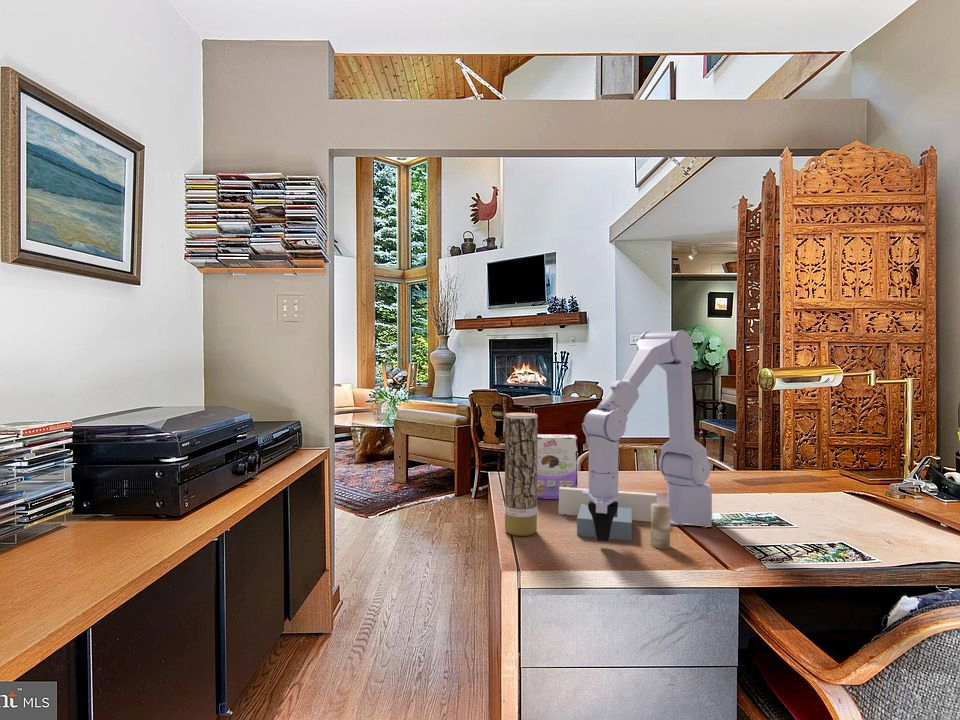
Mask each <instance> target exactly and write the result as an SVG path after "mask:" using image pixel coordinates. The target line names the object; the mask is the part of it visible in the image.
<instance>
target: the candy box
mask: <svg viewBox="0 0 960 720" xmlns="http://www.w3.org/2000/svg"><path fill="white" fill-rule="evenodd" d="M560 487H571V488H578V437H577V435H576V434H555V433H554V434H546V433H545V434H543V433H542V434H541V433H538V434H537V500H546V499H559V488H560Z"/></svg>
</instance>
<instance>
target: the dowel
mask: <svg viewBox="0 0 960 720" xmlns="http://www.w3.org/2000/svg"><path fill="white" fill-rule="evenodd" d="M650 547H652V548H655V549H659V550H668V549H670V548H671V524H670V505H668V504H667V503H661V502H657V503H653V504H651V522H650Z"/></svg>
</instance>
